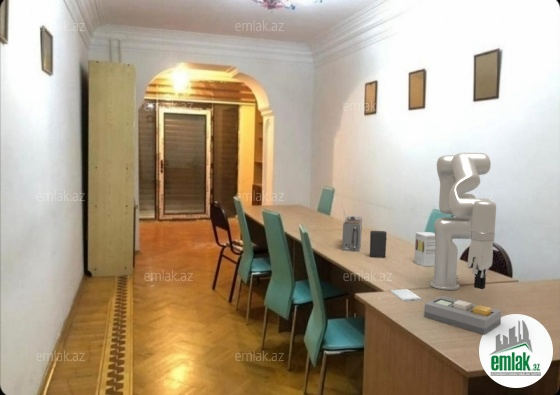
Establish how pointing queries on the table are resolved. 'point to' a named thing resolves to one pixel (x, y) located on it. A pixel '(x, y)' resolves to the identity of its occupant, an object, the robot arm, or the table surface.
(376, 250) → the card reader
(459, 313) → the key console
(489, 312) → the amber key
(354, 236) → the portable television
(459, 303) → the middle key
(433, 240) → the supplement box
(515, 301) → the table surface
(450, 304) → the sage key
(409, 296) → the hard drive
